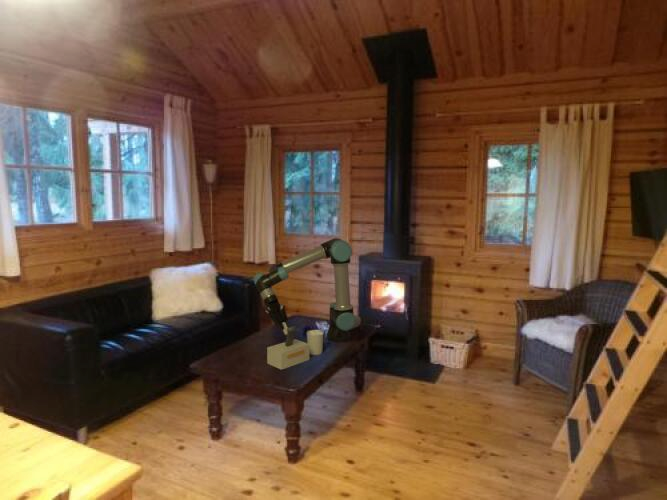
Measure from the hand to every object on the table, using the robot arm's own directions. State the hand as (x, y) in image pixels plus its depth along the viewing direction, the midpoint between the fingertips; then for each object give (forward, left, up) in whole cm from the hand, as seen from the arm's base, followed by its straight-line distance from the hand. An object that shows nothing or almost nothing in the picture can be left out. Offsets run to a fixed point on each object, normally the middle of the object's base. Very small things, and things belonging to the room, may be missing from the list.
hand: (287, 333), depth 251 cm
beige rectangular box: (-1, 0, -16) cm, 16 cm away
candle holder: (-21, 0, -16) cm, 26 cm away
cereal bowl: (-69, -18, -16) cm, 73 cm away
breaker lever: (-1, 0, -7) cm, 7 cm away
